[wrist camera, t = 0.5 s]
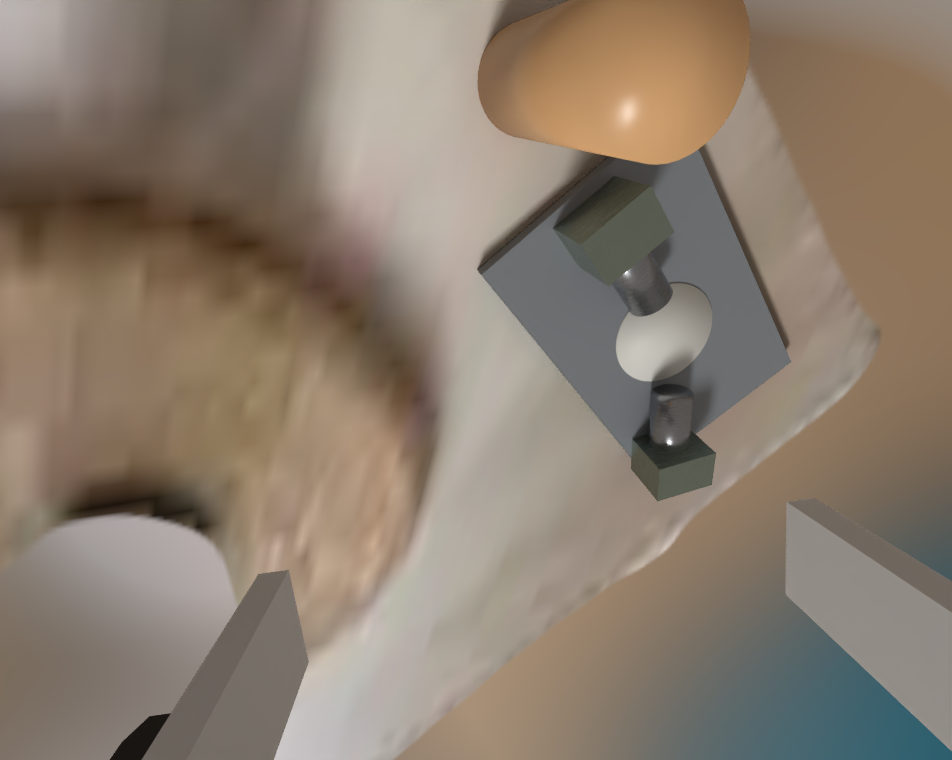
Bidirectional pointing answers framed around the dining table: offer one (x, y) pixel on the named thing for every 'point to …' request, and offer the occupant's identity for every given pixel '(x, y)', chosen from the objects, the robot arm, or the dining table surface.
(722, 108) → the orange cylinder
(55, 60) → the dining table surface
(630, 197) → the shaft
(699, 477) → the shaft
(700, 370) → the plate
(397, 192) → the dining table surface
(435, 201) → the dining table surface
